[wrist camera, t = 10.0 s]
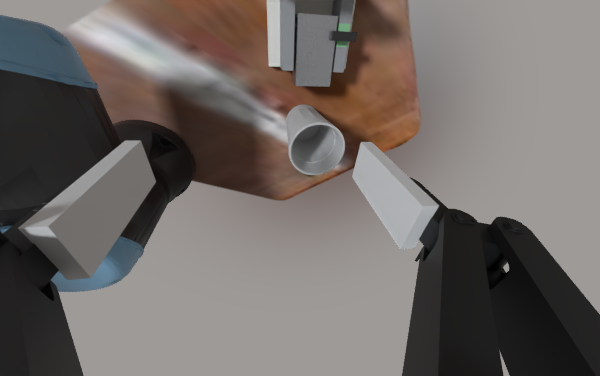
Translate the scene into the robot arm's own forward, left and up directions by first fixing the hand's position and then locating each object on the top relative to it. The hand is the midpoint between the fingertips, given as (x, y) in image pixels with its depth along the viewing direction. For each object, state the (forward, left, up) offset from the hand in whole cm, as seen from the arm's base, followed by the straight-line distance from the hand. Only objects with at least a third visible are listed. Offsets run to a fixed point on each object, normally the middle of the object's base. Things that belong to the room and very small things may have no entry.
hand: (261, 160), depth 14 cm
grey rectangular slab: (+9, +5, -24) cm, 26 cm away
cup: (+7, -6, -26) cm, 28 cm away
